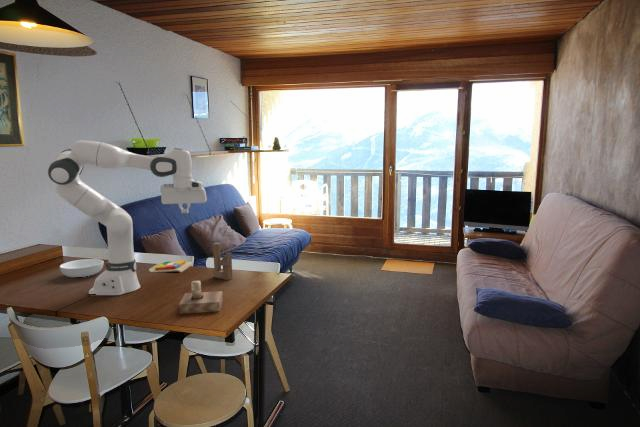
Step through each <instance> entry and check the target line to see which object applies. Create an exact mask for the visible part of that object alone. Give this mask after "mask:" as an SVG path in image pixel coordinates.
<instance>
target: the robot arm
mask: <svg viewBox="0 0 640 427" xmlns="http://www.w3.org/2000/svg"><path fill="white" fill-rule="evenodd" d="M192 160H193V159H192V155H191V153H190V151H189V150H187V149H183V148H177V147H173V148H172V149H171V150H170V151H168V152H166V153H163V154H161V155H157V156H148V155H144V154H138V153H134V152H131V151H127V150H125V149H123V148H121V147H119V146H116V145H113V144H110V143H106V142H102V141H96V140H77V141H75V142H74V143H73V144H72V146H71V148H67V149H65V150H63V151H61V152H60V153H59V154H58V155H57V156H55V158H54V159H53V161H52V162H51V163H50V165H49V167H48V170H47V176H48V177H49V179H50V180H51V181H52V182H53V183H55V186H54V188H55V189H54V190H55V193H56V194H58V196H60V198H62V199H63V200H64V201H65V202H67V203H68V204H70V205H71V206H73V207H74V208H75V209H78V211H80V212H82V214H85V215H86V216H87V217H89V218H92V219H93V220H95V221H97V222H98V223H100V224H102V225H104V227H106V234H107V236H106V237H107V252H108V260H107V261H106V263H105V264H103V267H104V268H105V270H104V271H103V272H101V273H100V274H99V275H98V276H97V277H96V278H95V280H94V282H93V287H91V288H90V290H88V295H89V294H96V295H95V296H121V295H123V294H127V293H131V292H136V291H138V290H139V289H140V288H141V284H140V281H139V278H138V275H137V262H136V259H135V251H134V250H135V249H134V227H133V224H134V223H133V219H132V216H131V215H130V214H129V213H128V211H126V210H125V209H124V208H122V207H121V206H119V205H117V204H116V203H115V202H113V201H111V200H110V199H109V198H107V197H105V196H103V194H101V193H99V192H98V191H96V190H95V189H94V188H92V187H91V186H89V185H87V183H85V182H83V181H82V179H81V178H80V175H81V174H82V173H83V170H84V167H85V166H89V167H95V168H100V169H119V168H138V169H142V170H148V171H150V172H151V173H152V174H153V175H154V176H156V177H158V178H166V177H169V176H172V183H164V184H162V185H161V186H160V188H159V189H160V193H161V198H160V199H161V200H160V202H161V204H163V205H178V207H179V209H180V210H181V211H180V212H181V214H189V213H190V212H189V209H190V207H191V205H192V204H205V203H206V202H207V200H208V197H207V192H206V189H205V188H204V182H202V181H200V180H197V179H194V176H193V173H192V172H193V171H192V170H193V163H192V162H193V161H192ZM184 204H185V205H186V206H187V208H184V207H183V205H184Z"/></svg>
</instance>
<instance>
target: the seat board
mask: <svg viewBox="0 0 640 427" xmlns="http://www.w3.org/2000/svg"><path fill="white" fill-rule="evenodd" d="M201 296H202V298H201V300H193V299H192V292H186V293H184V294H183V296H182V298H181V300H180V302H179V304H178V306H179V308H178V309H179V314H180V315H181V314H182V315H183V314H195V313H196V314H198V313H199V314H200V313H211V312H221V308H222V304H223V291H222V290H218V291H216V290H215V291H201Z"/></svg>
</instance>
